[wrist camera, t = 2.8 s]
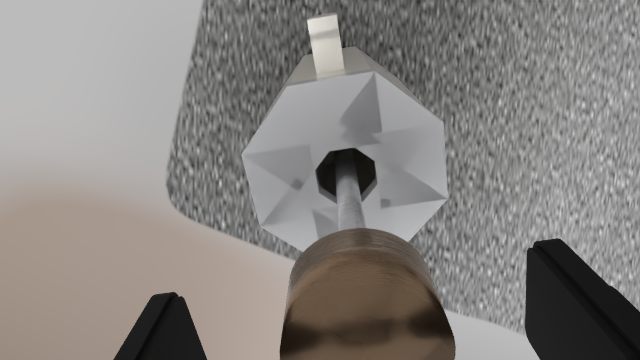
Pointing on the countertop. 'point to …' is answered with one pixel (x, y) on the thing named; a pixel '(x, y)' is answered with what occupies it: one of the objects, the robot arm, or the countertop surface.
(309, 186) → the press pot
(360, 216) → the plunger
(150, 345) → the robot arm
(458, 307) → the countertop surface
